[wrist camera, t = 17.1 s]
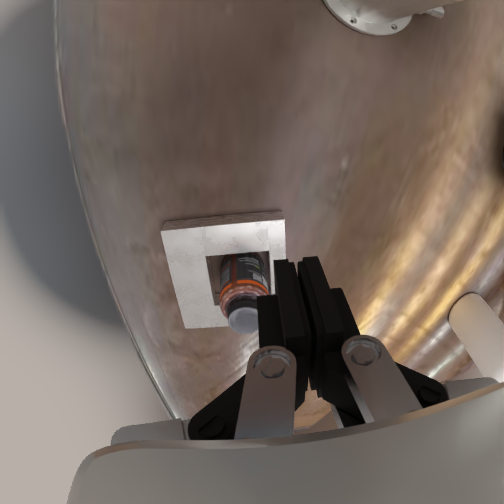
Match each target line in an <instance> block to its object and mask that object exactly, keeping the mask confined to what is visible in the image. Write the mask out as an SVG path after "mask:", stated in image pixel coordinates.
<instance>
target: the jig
mask: <svg viewBox="0 0 504 504" xmlns="http://www.w3.org/2000/svg"><path fill="white" fill-rule="evenodd" d="M161 235H162V240H163V244H164V248H165V253H166V257H167V261H168V265H169V269H170V273H171V277H172V281H173V285H174V289H175V293H176V296H177V300H178V304H179V307H180V311H181V315H182V318H183V322H184V325H185V328H205V327H222V326H229V324H228V319H227V318H226V317H225V316H224V315H223V313H222V312H221V309H220V293H215V287H214V281H213V276H212V270H211V264H210V258H209V256H213V255H225V254H236V253H248V252H260V251H268V260H269V278H270V289H268V292H269V295H272V294H275V283H274V264H273V260H280V259H286V254H285V220H284V217H283V214H282V211H268V212H256V213H244V214H233V215H222V216H212V217H202V218H192V219H182V220H173V221H166V222H165V224H164V226H163V228H162V229H161Z"/></svg>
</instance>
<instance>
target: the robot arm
mask: <svg viewBox="0 0 504 504" xmlns="http://www.w3.org/2000/svg"><path fill="white" fill-rule="evenodd" d="M323 1H324V3H325V5H326V6H327V8H328V9H329V10H330V12H331V13H332V14H333V15H334V16H335V17H336V18H337V19H338V20H340V21H341V22H342V23H344V24H345V25H346V26H348V27H350V28H352V29H353V30H355V31H358V32H361V33H363V34H367V35H372V36H386V35H391V34H395V33H397V32H399V31H401V30H403V29H404V28H405V27H406V26H407V25H408V24H409V22H410V21H411V19H412V16H413V14H423V13H426V14H428V15H430V16H434V17H437V18H442V17H443V16H444V9H443V7H442V6H444V5H448V4H452V3H456V2H460V1H464V0H323ZM350 20H351V21H352V22H353V23H351V22H350ZM392 28H393V29H392ZM273 264H274V283H275V294H272V295H260V296H257V314H258V330H259V347H260V349H258V350H257V351H255V352H254V353H253V354H252V355H251V356H250V358H249V361H248V365H247V370H246V374H245V375H244V376H242V377H241V378H240V379H239V380H238V381H236V382H235V383H234V384H233V385H232V386H230V387H229V388H228V389H227V390H225V391H224V392H223V393H222V394H221V395H219V396H218V397H217V398H216V399H214V400H213V401H212V402H211V403H209V404H208V405H207V406H205V407H204V408H203V409H202V410H200V411H199V412H198V413H197V414H195V415H194V416H193V417H192V419H188V420H183V421H182V420H181V418H179V419H173V420H167V421H160V422H153V423H146V424H139V425H131V426H126V427H122V428H120V429H119V430H117V431H116V432H115V434H114V435H113V436H112V440H111V445H110V446H107V447H104V448H101V449H99V450H96V451H94V452H93V453H91V454H89V455H88V456H87V457H86V458H85V459H84V460H83V461H82V463H81V464H80V466H79V468H78V470H77V472H76V475H75V477H74V480H73V483H72V486H71V490H70V493H69V496H68V501H67V504H504V382H501V383H499V382H498V381H497V380H496V379H493V378H491V377H483V378H475V379H466V380H456V381H446V382H445V384H441V383H439V382H438V381H436V380H434V379H432V378H429V377H427V376H425V375H423V374H420V373H418V372H416V371H414V370H412V369H409V368H407V367H405V366H403V365H401V364H398V363H396V362H394V360H393V359H392V357H391V356H390V354H389V352H388V351H387V349H386V348H385V346H384V345H383V344H382V343H381V341H379V340H378V339H376V338H375V337H372V336H369V335H360V332H359V330H358V327H357V325H356V322H355V320H354V317H353V315H352V312H351V310H350V307H349V305H348V302H347V300H346V297H345V295H344V293H343V290H342V289H341V288H332V289H330V287H329V285H328V282H327V279H326V277H325V274H324V271H323V269H322V266H321V264H320V261H319V259H318V256H314V257H303V260H302V261H300V262H298V276H297V273H296V269H295V265H294V262H289V261H288V259H280V260H273ZM308 377H309V382H310V387H311V390H317V396H318V398H319V397H323V399H324V400H326V401H327V402H329V403H331V404H330V405H331V410H332V412H333V415H334V417H335V420H336V422H337V424H338V427H339V429H335V430H329V431H323V432H316V433H308V434H301V435H293V430H294V412H295V411H296V410H297V409H298V408H299V407H300V406H301V404H302V403H303V402H304V401H305V391H307V387H308Z"/></svg>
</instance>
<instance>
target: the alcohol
mask: <svg viewBox="0 0 504 504" xmlns="http://www.w3.org/2000/svg"><path fill="white" fill-rule="evenodd" d="M449 324H450V326H451V328H452V329H453V331H454V332H455V333H456V335H457V336H458V338H459V339H460V341H461V342H462V344H463V345H464V347H465V349H466V350H467V352H468V353H469V355H470V356H471V358H472V359H473V361H474V363H475V364H476V366H477V367H478V369H479V370H480V372H481V374H482V376H483V377H491V378H493V379H496V380H497V381H498V382H499V383H501V382H504V324H503V323H502V321H501V320H500V319H499V318H498V316H497V315H496V314H495V313H494V312H493V310H492V309H491V308H490V307H489V306H488V304H487V303H486V302H485V301H484V300H483V299H482V297H481V296H480V295H478V294H474V293H470V294H466V295H464V296H463V297H461V298H460V299H459V300H458V301H457V302H456V303H455V304H454V306H453V307H452V309H451V311H450V314H449Z"/></svg>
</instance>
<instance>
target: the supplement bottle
mask: <svg viewBox="0 0 504 504" xmlns="http://www.w3.org/2000/svg"><path fill="white" fill-rule="evenodd" d="M260 295H269V292H268V286H267V280H266V274H265V268H264V263H263V261H262V259H261V258H260V256H259V255H257V254H256V253H255V252H248V253H236V254H228V255H227V256H226V258H225V259H224V261H223V263H222V266H221V282H220V309H221V312H222V313H223V315H224V316H225V317H226V318H227V319H228V324H229V326H230V328H231V329H232V330H234V331H235V332H238V333H242V334H249V333H253V332H255V331H257V330H258V314H257V296H260Z"/></svg>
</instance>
